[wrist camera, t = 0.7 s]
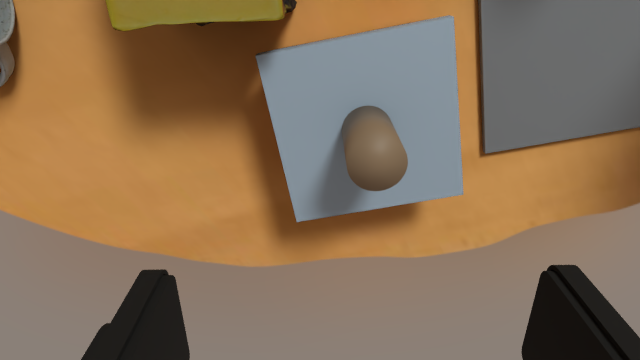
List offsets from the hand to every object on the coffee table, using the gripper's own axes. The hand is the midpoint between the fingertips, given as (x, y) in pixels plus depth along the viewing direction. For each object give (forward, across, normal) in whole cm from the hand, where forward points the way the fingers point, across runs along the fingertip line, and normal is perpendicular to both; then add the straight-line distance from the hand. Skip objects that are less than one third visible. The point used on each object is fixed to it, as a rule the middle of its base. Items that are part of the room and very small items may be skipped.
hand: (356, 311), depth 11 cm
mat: (+27, -19, -2) cm, 33 cm away
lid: (+22, -2, +2) cm, 22 cm away
